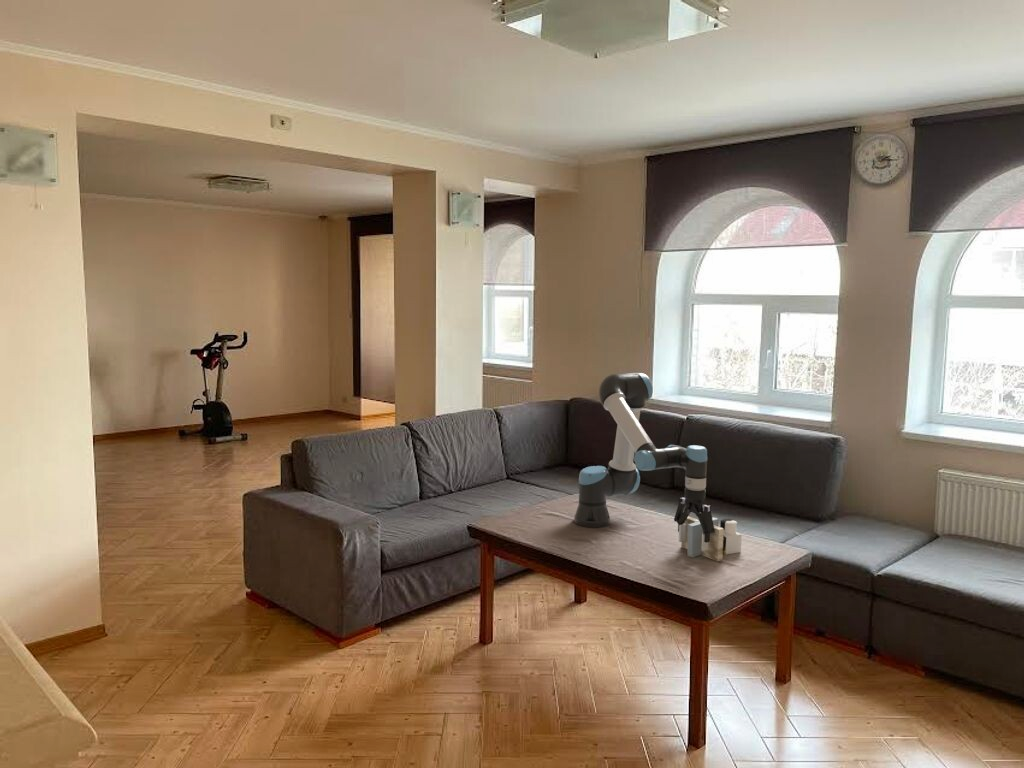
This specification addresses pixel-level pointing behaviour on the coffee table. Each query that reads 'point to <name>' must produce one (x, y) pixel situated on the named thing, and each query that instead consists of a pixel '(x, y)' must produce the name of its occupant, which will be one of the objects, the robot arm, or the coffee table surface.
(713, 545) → the standing plate
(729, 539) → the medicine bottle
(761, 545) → the coffee table surface
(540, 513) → the coffee table surface
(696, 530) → the cross plate
